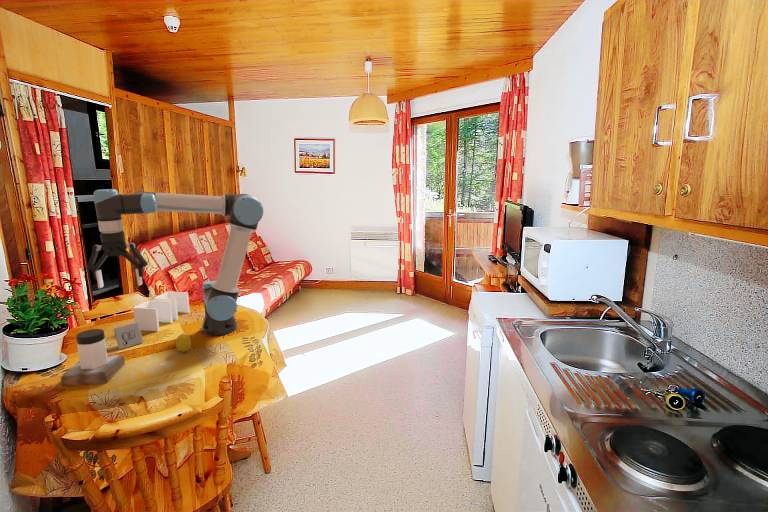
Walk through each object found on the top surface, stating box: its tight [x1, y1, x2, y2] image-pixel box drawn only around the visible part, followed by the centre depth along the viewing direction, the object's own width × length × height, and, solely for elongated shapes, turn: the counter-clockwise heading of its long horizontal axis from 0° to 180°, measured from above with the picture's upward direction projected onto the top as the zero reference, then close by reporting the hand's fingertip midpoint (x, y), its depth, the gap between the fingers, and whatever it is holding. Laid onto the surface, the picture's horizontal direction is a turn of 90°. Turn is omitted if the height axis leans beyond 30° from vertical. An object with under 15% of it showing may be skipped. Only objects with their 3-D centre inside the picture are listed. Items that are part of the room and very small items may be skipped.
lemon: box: [175, 333, 192, 353], centre depth 166 cm, size 6×6×8 cm
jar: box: [75, 328, 109, 369], centre depth 146 cm, size 9×8×12 cm
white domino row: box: [132, 290, 190, 332], centre depth 198 cm, size 25×11×11 cm, turn 173°
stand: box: [60, 354, 126, 387], centre depth 148 cm, size 14×14×4 cm
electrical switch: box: [113, 321, 144, 350], centre depth 172 cm, size 9×5×9 cm, turn 141°
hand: (120, 286), depth 157 cm, fingers open, 13 cm apart
